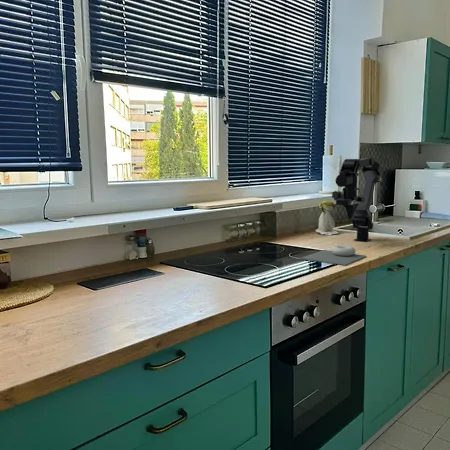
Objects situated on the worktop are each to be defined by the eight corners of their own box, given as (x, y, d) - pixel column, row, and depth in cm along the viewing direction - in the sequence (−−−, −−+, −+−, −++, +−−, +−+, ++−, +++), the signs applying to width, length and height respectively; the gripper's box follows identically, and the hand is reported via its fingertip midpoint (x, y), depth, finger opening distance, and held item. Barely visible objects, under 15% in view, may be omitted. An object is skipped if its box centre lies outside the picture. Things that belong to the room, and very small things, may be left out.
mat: (324, 250, 203) (324, 249, 203) (366, 256, 190) (366, 255, 190) (301, 258, 188) (301, 257, 188) (345, 265, 175) (345, 264, 175)
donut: (359, 245, 194) (350, 250, 186) (358, 253, 194) (350, 258, 186) (337, 243, 200) (327, 247, 192) (337, 250, 200) (327, 255, 192)
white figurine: (319, 235, 241) (320, 202, 238) (312, 231, 254) (313, 199, 251) (341, 235, 242) (341, 201, 239) (333, 231, 255) (334, 199, 252)
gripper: (344, 184, 223) (343, 215, 226) (325, 186, 209) (325, 219, 212) (365, 184, 216) (364, 216, 218) (348, 187, 202) (347, 221, 204)
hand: (349, 218), depth 213 cm, fingers closed
